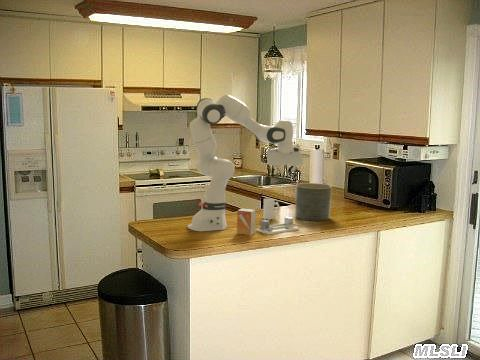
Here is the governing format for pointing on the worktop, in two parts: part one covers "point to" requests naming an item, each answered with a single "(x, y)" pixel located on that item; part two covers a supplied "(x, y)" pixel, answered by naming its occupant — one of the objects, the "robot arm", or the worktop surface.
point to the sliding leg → (289, 221)
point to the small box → (246, 221)
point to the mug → (269, 209)
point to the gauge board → (275, 228)
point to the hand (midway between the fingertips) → (284, 172)
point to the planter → (313, 201)
